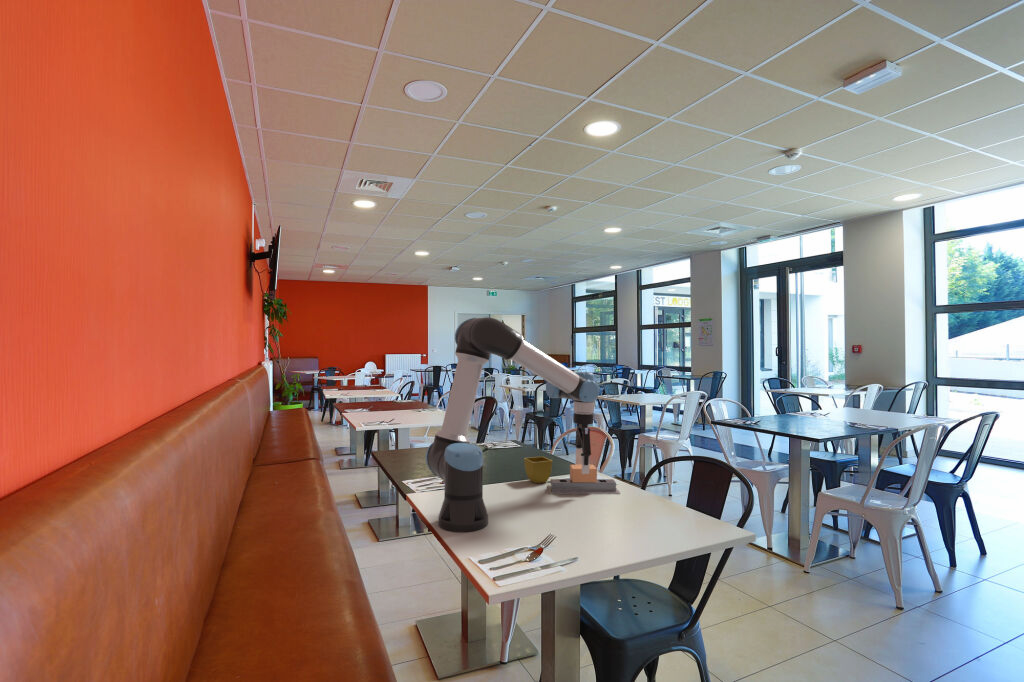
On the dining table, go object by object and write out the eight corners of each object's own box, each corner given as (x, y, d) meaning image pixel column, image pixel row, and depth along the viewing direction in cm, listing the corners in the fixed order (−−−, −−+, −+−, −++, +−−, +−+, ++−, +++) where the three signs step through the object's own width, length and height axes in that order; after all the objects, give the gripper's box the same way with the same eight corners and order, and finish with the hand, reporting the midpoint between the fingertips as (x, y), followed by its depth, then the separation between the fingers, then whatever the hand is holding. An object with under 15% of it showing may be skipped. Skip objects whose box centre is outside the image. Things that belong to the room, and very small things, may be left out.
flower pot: (523, 480, 209) (523, 457, 209) (542, 477, 213) (542, 456, 213) (533, 485, 201) (533, 462, 201) (552, 483, 205) (553, 460, 205)
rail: (620, 493, 191) (620, 484, 191) (550, 493, 190) (550, 484, 190) (613, 486, 201) (614, 477, 201) (547, 486, 200) (547, 477, 200)
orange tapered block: (593, 486, 199) (593, 464, 200) (596, 491, 192) (596, 468, 193) (569, 486, 199) (569, 464, 199) (572, 491, 192) (572, 468, 192)
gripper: (600, 417, 184) (598, 477, 183) (587, 409, 209) (586, 462, 208) (579, 417, 183) (577, 477, 183) (568, 408, 208) (567, 461, 208)
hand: (582, 469), depth 196 cm, fingers open, 13 cm apart
